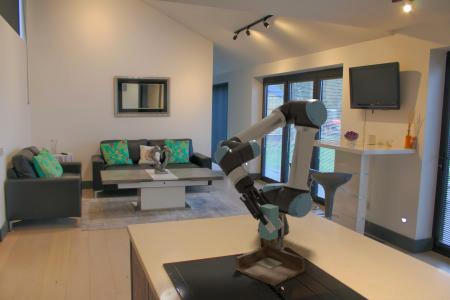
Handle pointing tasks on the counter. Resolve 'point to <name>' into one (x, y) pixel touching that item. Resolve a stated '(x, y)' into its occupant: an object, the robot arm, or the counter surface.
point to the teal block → (272, 215)
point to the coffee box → (279, 240)
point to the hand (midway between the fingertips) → (277, 229)
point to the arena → (270, 264)
